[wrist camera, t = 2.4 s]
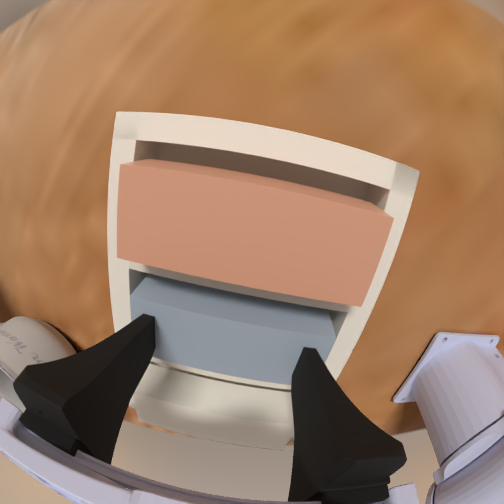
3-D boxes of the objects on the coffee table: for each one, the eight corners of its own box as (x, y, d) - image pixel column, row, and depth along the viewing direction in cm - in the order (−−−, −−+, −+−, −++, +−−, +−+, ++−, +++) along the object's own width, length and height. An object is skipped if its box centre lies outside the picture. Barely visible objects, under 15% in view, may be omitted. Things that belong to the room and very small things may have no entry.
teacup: (116, 365, 20) (77, 435, 13) (81, 396, 24) (52, 446, 16) (10, 254, 17) (-50, 297, 10) (-2, 313, 20) (-42, 351, 13)
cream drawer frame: (388, 163, 13) (419, 171, 10) (295, 407, 20) (296, 440, 17) (149, 116, 13) (116, 111, 9) (144, 376, 20) (129, 407, 17)
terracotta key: (370, 202, 11) (394, 218, 8) (346, 277, 12) (361, 307, 10) (149, 158, 11) (119, 164, 8) (142, 236, 12) (117, 257, 10)
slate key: (327, 307, 14) (336, 337, 12) (307, 356, 15) (311, 387, 13) (149, 272, 14) (129, 295, 12) (150, 324, 15) (134, 351, 13)
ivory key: (297, 393, 15) (299, 424, 13) (282, 421, 17) (282, 450, 14) (146, 362, 15) (131, 390, 13) (149, 394, 17) (138, 421, 14)
